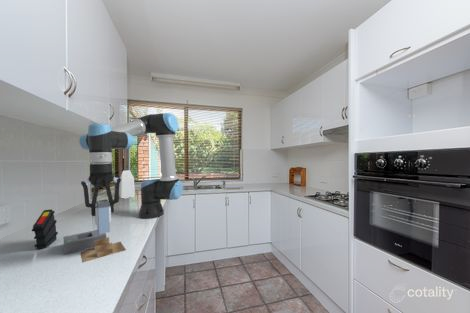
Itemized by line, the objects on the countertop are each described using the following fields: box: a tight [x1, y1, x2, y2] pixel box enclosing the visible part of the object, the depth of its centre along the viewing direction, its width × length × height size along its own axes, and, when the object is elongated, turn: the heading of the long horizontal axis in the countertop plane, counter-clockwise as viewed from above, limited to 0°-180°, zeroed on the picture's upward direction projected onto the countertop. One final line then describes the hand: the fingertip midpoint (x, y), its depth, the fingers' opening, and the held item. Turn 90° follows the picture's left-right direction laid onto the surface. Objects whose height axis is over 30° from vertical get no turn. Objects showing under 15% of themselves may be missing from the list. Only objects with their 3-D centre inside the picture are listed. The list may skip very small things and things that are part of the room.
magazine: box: [31, 209, 59, 251], centre depth 91 cm, size 4×13×15 cm, turn 21°
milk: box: [119, 169, 136, 199], centre depth 201 cm, size 12×12×26 cm
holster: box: [79, 237, 127, 263], centre depth 81 cm, size 14×11×4 cm
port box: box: [62, 229, 107, 256], centre depth 87 cm, size 14×10×5 cm
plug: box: [95, 199, 111, 234], centre depth 81 cm, size 4×5×12 cm
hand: (103, 222), depth 81 cm, fingers closed on plug, 4 cm apart
